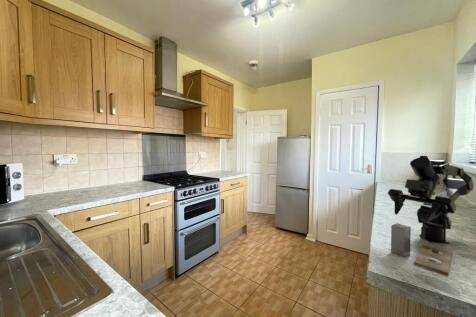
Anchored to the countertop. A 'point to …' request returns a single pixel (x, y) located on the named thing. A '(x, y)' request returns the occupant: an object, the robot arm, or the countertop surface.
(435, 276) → the countertop surface
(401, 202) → the robot arm
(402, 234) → the block
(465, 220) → the countertop surface
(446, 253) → the mounting board
